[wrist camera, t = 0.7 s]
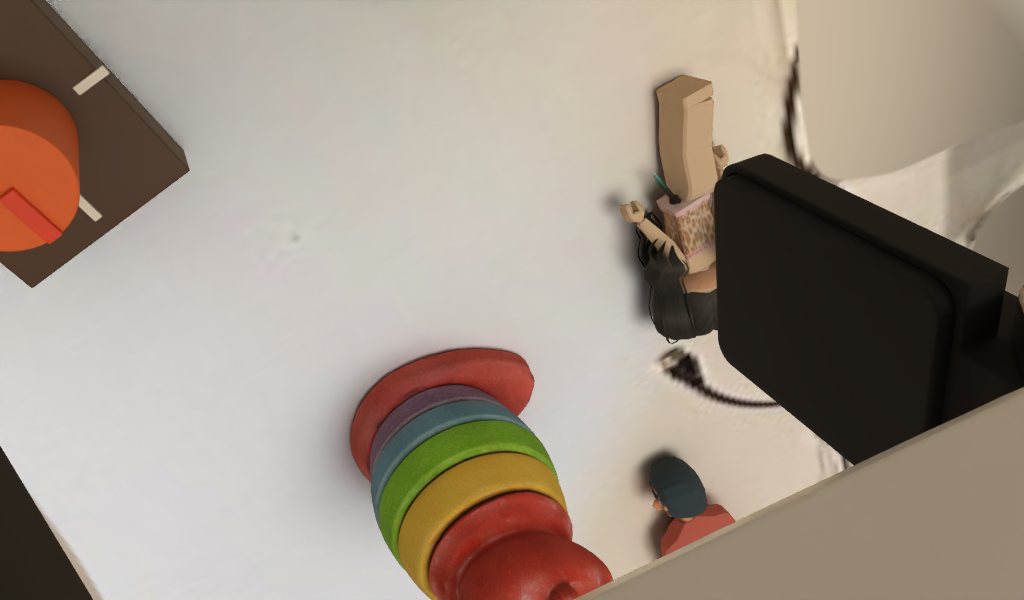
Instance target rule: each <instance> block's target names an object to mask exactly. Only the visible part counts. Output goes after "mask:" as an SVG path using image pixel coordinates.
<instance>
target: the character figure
mask: <svg viewBox="0 0 1024 600" xmlns="http://www.w3.org/2000/svg"><path fill="white" fill-rule="evenodd" d="M650 486H651V489H652V492H653V495H654V497H655V498H656V499H655V501H654V503H653V507H654V508H656V509H657V510H661V509H662V508H663V509H664V510H665V512H666V513H667V514H668V515H669V516H670V517H675V518H674V519H673V521H672V522H671V523H670V524H669V525H668V530H667V532H666V533H665V535H664V536H663V538H662V539H661V554H662V557H663V556H665V555H667V554H669V553H672V552H674V551H676V550H678V549H680V548H682V547H684V546H686V545H688V544H690V543H692V542H695V541H697V540H699V539H701V538H703V537H705V536H707V535H709V534H711V533H713V532H715V531H717V530H720V529H722V528H724V527H726V526H728V525H730V524H732V523H734V522H736V521H735V520H734V519H733V517H732V516H731V515H730V514H729V512H727V511H726V510H725V509H724V508H723V507H722V506H721V505H718V504H713V505H707V499H706V494H705V488H704V486H703V484H702V482H701V480H700V478H699V476H698V475H697V474H696V472H695V471H694V470H693V469H692V468H691V467H690V466H689V465H688V464H687V463H685V462H684V461H683V460H681V459H679V458H677V457H675V456H674V457H670V458H667V459H663V460H661V461H659V462H657V463H656V464H654V465H652V468H651V471H650Z"/></svg>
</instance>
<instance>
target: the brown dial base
mask: <svg viewBox="0 0 1024 600" xmlns="http://www.w3.org/2000/svg"><path fill="white" fill-rule="evenodd" d="M4 79H5V80H16V81H21V82H25V83H29V84H32V85H34V86H37V87H39V88H41V89H43V90H45V91H46V92H48V93H49V94H51V95H52V96H54V97H55V98H56V99H57V100H58V101H59V102H61V103H62V105H63V106H64V107H65V108H66V109H67V111H68V112H69V114H70V115H71V117H72V119H73V121H74V123H75V126H76V129H77V133H78V143H79V177H80V200H79V205H78V209H77V212H76V214H75V216H74V218H73V220H72V221H71V223H70V224H69V226H68V227H67V228H66V229H65V230H64V231H63V232H62V236H60V237H59V238H58V239H56V240H55V241H54V242H52V243H51V244H48V243H45V244H43V245H41V246H38V247H35V248H32V249H27V250H22V251H0V262H1V263H2V264H3V265H4V266H6V267H7V268H8V269H9V270H10V271H12V272H13V273H14V274H15V275H16V276H18V277H19V278H20V279H21V280H23V281H24V282H25V283H26V284H27V285H29V286H30V287H31V288H33V287H35V286H36V285H37V284H39V283H40V282H41V281H43V280H44V279H45V278H47V277H48V276H49V275H51V274H52V273H53V272H55V271H56V270H57V269H59V268H60V267H61V266H63V265H64V264H65V263H67V262H68V261H69V260H71V259H72V258H73V257H75V256H76V255H77V254H79V253H80V252H81V251H83V250H84V249H85V248H87V247H88V246H89V245H91V244H92V243H93V242H95V241H96V240H98V239H99V238H100V237H102V236H103V235H104V234H106V233H107V232H108V231H110V230H111V229H112V228H114V227H115V226H116V225H118V224H119V223H120V222H122V221H123V220H124V219H126V218H127V217H128V216H130V215H131V214H132V213H134V212H135V211H136V210H138V209H139V208H140V207H142V206H143V205H144V204H146V203H147V202H148V201H150V200H151V199H152V198H154V197H155V196H156V195H158V194H159V193H160V192H162V191H163V190H164V189H166V188H167V187H168V186H170V185H171V184H172V183H174V182H175V181H176V180H178V179H179V178H180V177H182V176H183V175H184V174H186V173H187V172H188V171H189V166H188V163H187V160H186V157H185V154H184V151H183V149H182V148H181V147H180V146H179V145H178V144H177V143H176V142H175V141H174V140H173V138H172V137H171V136H170V135H169V134H168V133H167V132H166V131H165V130H164V129H163V128H162V126H161V125H160V124H159V123H158V122H157V121H156V120H155V119H154V118H153V117H152V116H151V115H150V113H149V112H148V111H147V110H146V109H145V108H144V107H143V106H142V105H141V104H140V103H139V102H138V100H137V99H136V98H135V97H134V96H133V95H132V94H131V93H130V92H129V91H128V90H127V89H126V87H125V86H124V85H123V84H122V83H121V82H120V81H119V80H118V79H117V78H116V77H115V75H114V74H113V73H112V72H111V71H110V70H109V69H108V68H107V67H106V66H105V65H104V64H103V62H102V61H101V60H100V59H99V58H98V57H97V56H96V55H95V54H94V53H93V52H92V51H91V49H90V48H89V47H88V46H87V45H86V44H85V43H84V42H83V41H82V40H81V39H80V38H79V36H78V35H77V34H76V33H75V32H74V31H73V30H72V29H71V28H70V27H69V26H68V24H67V23H66V22H65V21H64V20H63V19H62V18H61V17H60V16H59V15H58V14H57V13H56V11H55V10H54V9H53V8H52V7H51V6H50V5H49V4H48V3H47V2H46V1H45V0H0V80H4Z"/></svg>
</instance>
